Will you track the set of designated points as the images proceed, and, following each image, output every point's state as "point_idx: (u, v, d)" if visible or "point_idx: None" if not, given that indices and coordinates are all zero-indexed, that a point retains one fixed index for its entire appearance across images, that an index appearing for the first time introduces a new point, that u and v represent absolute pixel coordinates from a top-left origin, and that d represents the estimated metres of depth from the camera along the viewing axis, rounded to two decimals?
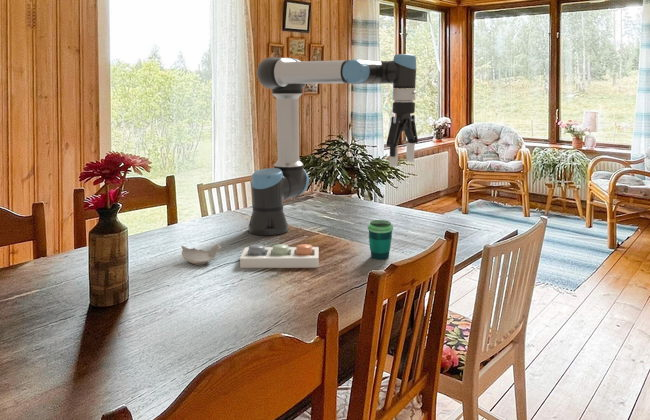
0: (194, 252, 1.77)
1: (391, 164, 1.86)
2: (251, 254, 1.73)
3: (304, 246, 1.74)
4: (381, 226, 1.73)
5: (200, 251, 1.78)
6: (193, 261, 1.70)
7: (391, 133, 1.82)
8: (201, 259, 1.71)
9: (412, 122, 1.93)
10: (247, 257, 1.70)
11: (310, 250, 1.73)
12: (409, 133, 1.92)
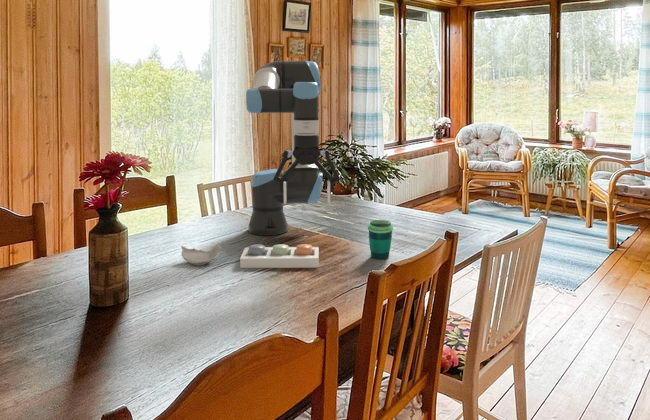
0: (194, 252, 1.77)
1: None
2: (251, 254, 1.73)
3: (304, 246, 1.74)
4: (381, 226, 1.73)
5: (200, 251, 1.78)
6: (193, 261, 1.70)
7: None
8: (201, 259, 1.71)
9: (326, 158, 1.68)
10: (247, 257, 1.70)
11: (310, 250, 1.73)
12: (321, 170, 1.69)
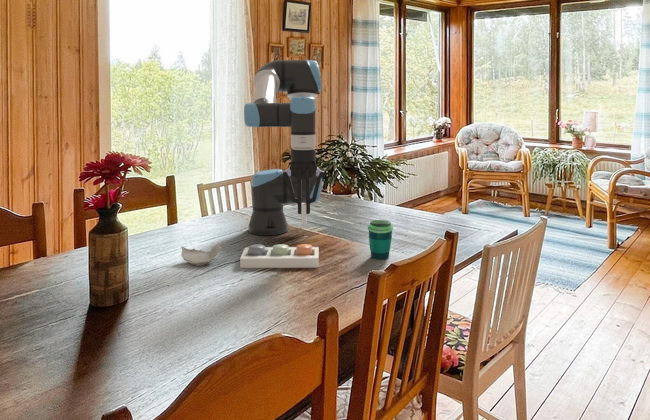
0: (194, 253, 1.76)
1: None
2: (251, 254, 1.73)
3: (304, 246, 1.74)
4: (381, 226, 1.73)
5: (200, 252, 1.77)
6: (192, 262, 1.70)
7: None
8: (201, 260, 1.71)
9: (317, 177, 1.68)
10: (247, 257, 1.70)
11: (310, 250, 1.73)
12: (305, 187, 1.69)
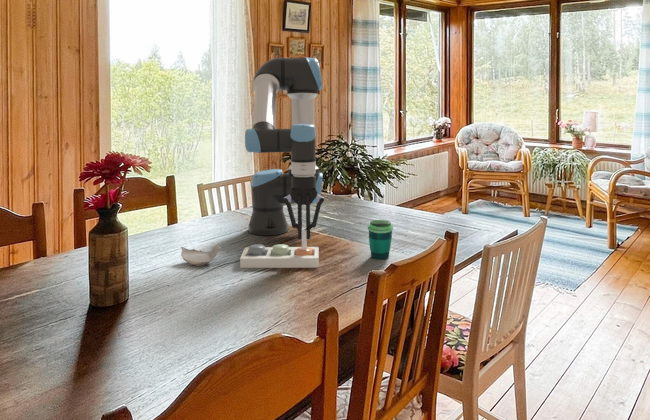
0: (194, 253, 1.76)
1: None
2: (251, 254, 1.73)
3: None
4: (381, 226, 1.73)
5: (200, 252, 1.77)
6: (192, 262, 1.70)
7: None
8: (200, 260, 1.70)
9: (317, 203, 1.70)
10: (247, 257, 1.70)
11: (310, 253, 1.73)
12: (306, 213, 1.71)
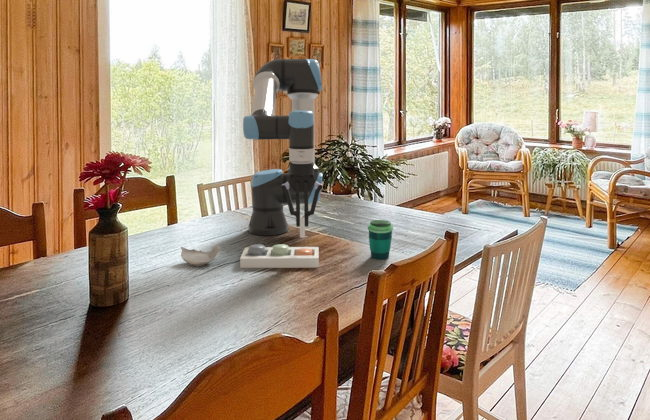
0: (194, 253, 1.76)
1: None
2: (251, 254, 1.73)
3: (304, 251, 1.74)
4: (381, 226, 1.73)
5: (200, 252, 1.77)
6: (192, 262, 1.69)
7: None
8: (200, 260, 1.70)
9: (315, 190, 1.69)
10: (247, 257, 1.70)
11: (310, 255, 1.73)
12: (304, 200, 1.70)
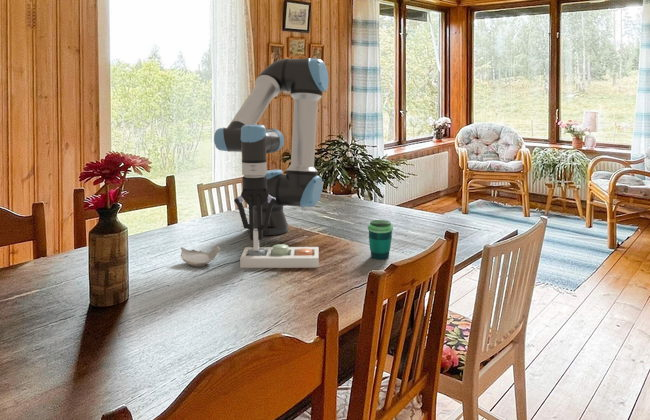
0: (193, 253, 1.76)
1: None
2: None
3: (304, 251, 1.74)
4: (381, 226, 1.73)
5: (200, 252, 1.76)
6: (192, 263, 1.69)
7: None
8: (200, 261, 1.70)
9: (268, 204, 1.70)
10: (247, 257, 1.70)
11: (310, 255, 1.73)
12: None
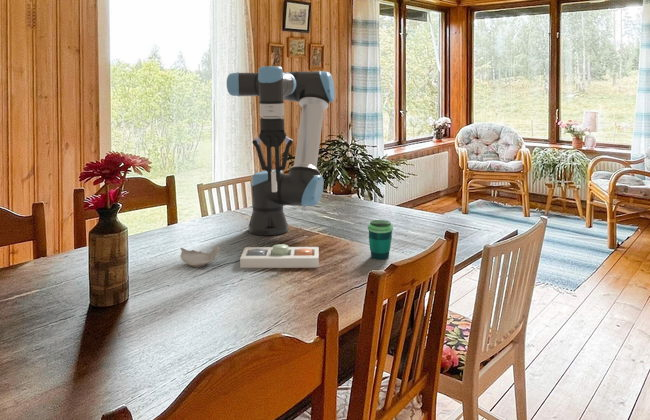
0: (193, 254, 1.75)
1: None
2: None
3: (304, 251, 1.74)
4: (381, 226, 1.73)
5: (199, 253, 1.76)
6: (191, 263, 1.68)
7: None
8: (200, 261, 1.69)
9: (286, 145, 1.73)
10: (247, 257, 1.70)
11: (310, 255, 1.73)
12: (275, 155, 1.74)
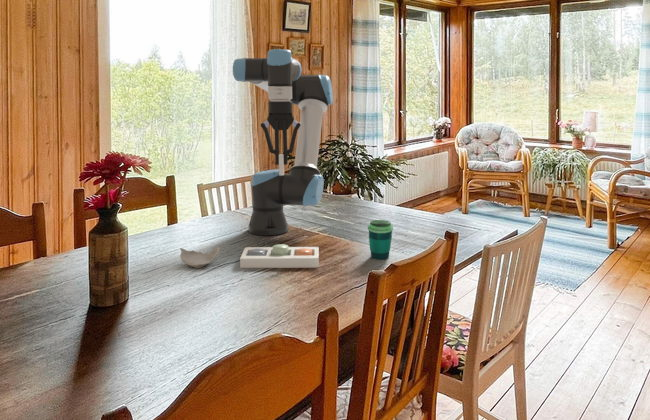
0: (193, 254, 1.75)
1: None
2: None
3: (304, 251, 1.74)
4: (381, 226, 1.73)
5: (199, 253, 1.75)
6: (191, 264, 1.68)
7: None
8: (199, 262, 1.69)
9: (294, 129, 1.74)
10: (247, 257, 1.70)
11: (310, 255, 1.73)
12: (283, 139, 1.75)
